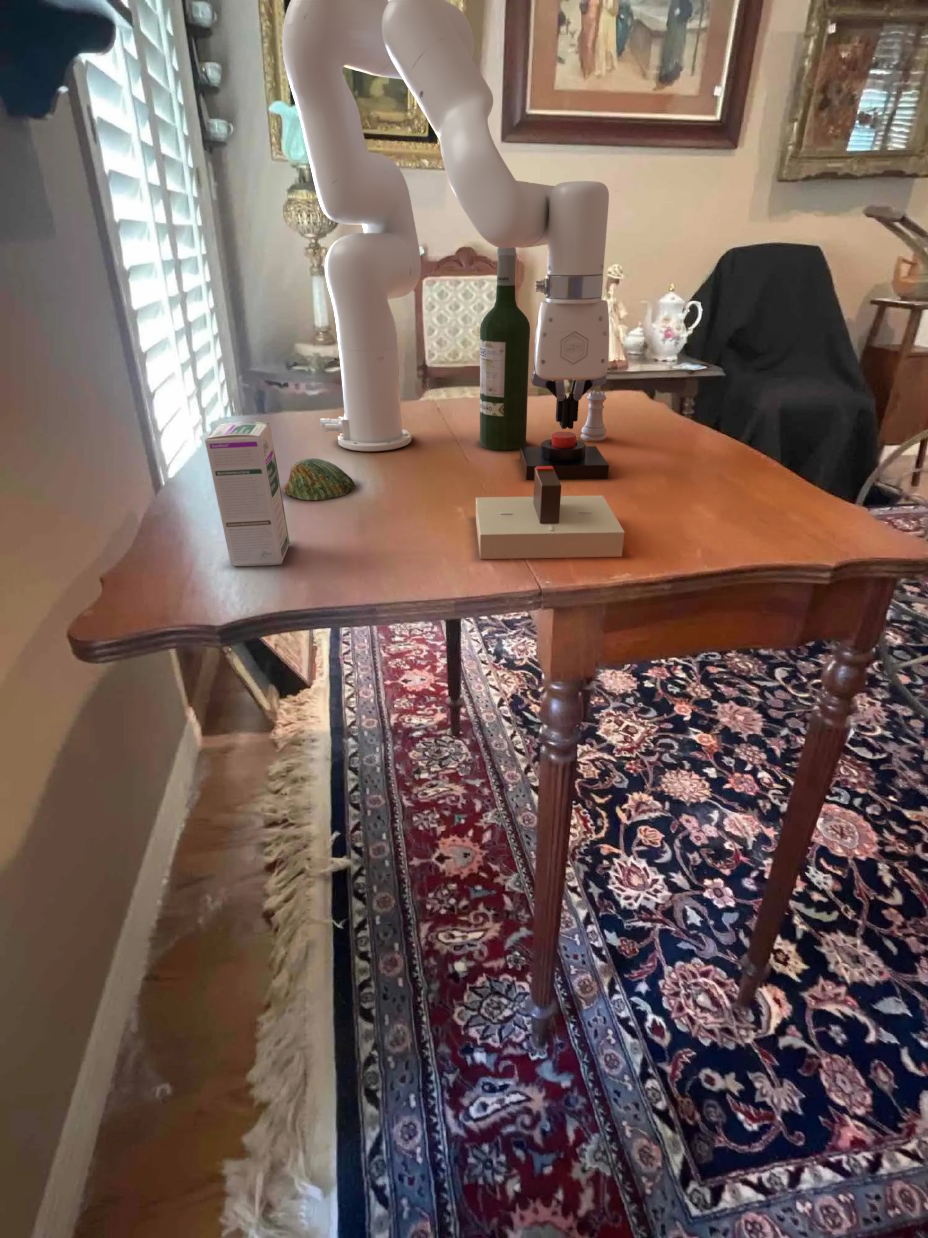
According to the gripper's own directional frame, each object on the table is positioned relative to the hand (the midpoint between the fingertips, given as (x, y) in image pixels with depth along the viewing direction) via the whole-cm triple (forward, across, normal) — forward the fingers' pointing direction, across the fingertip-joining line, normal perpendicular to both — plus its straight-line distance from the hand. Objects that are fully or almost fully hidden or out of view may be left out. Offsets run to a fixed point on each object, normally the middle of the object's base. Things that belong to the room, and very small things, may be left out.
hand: (566, 426), depth 102 cm
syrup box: (+7, -39, -30) cm, 50 cm away
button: (+3, 0, 0) cm, 3 cm away
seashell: (+7, -36, -7) cm, 37 cm away
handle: (+4, -6, -26) cm, 27 cm away
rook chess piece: (+7, +8, +17) cm, 20 cm away
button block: (+7, 0, 0) cm, 7 cm away
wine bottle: (+7, -8, +14) cm, 18 cm away
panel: (+7, -6, -26) cm, 27 cm away
